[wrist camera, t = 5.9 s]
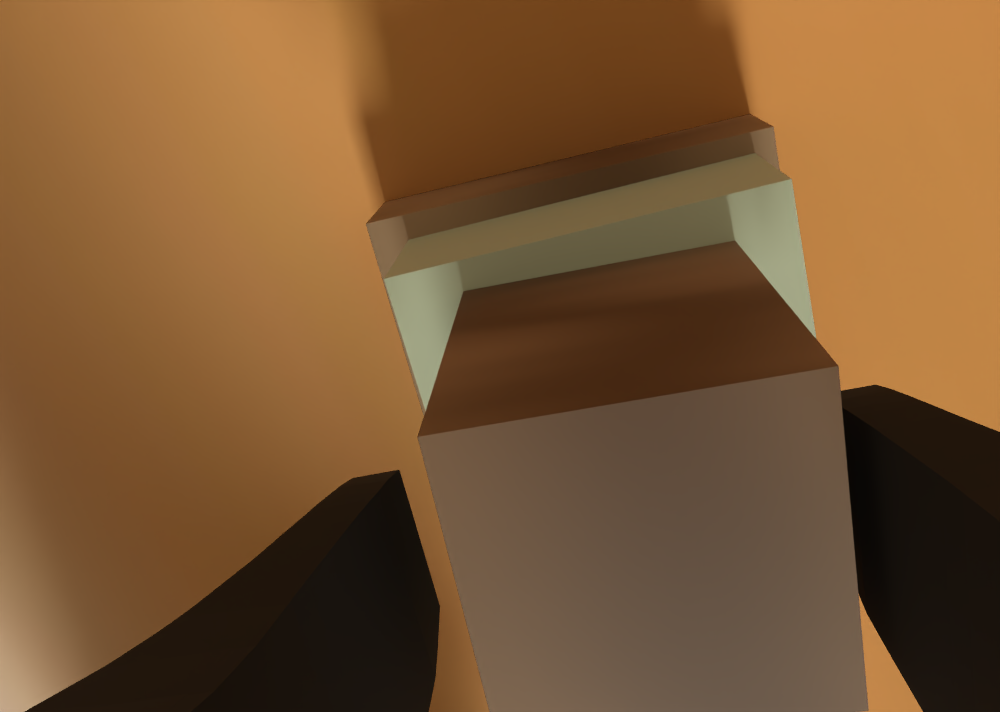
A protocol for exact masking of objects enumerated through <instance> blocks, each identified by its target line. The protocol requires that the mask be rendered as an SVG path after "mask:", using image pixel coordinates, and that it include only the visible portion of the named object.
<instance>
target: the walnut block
mask: <svg viewBox="0 0 1000 712" xmlns="http://www.w3.org/2000/svg"><path fill="white" fill-rule="evenodd" d="M418 441H419V444H420V448H421V452H422V456H423V460H424V463H425V467H426V471H427V475H428V479H429V482H430V486H431V490H432V494H433V498H434V502H435V505H436V509H437V513H438V517H439V521H440V524H441V528H442V532H443V536H444V540H445V543H446V547H447V551H448V555H449V559H450V563H451V566H452V570H453V574H454V578H455V582H456V585H457V589H458V593H459V597H460V601H461V605H462V608H463V612H464V616H465V620H466V624H467V627H468V631H469V635H470V639H471V643H472V646H473V650H474V654H475V658H476V662H477V666H478V669H479V673H480V677H481V681H482V685H483V688H484V692H485V696H486V700H487V704H488V707H489V711H490V712H860V711H868V699H867V687H866V676H865V664H864V653H863V642H862V630H861V619H860V607H859V596H858V584H857V573H856V562H855V550H854V539H853V527H852V516H851V505H850V493H849V482H848V470H847V459H846V447H845V436H844V425H843V413H842V402H841V390H840V379H839V367H838V365H837V364H836V363H835V361H834V360H833V359H832V358H831V356H830V355H829V354H828V353H827V352H826V350H825V349H824V348H823V347H822V345H821V344H820V343H819V342H818V341H817V339H816V338H815V337H814V336H813V335H812V333H811V332H810V331H809V330H808V328H807V327H806V326H805V325H804V324H803V322H802V321H801V320H800V319H799V318H798V316H797V315H796V314H795V313H794V311H793V310H792V309H791V308H790V307H789V305H788V304H787V303H786V302H785V300H784V299H783V298H782V297H781V296H780V294H779V293H778V292H777V291H776V290H775V288H774V287H773V286H772V285H771V283H770V282H769V281H768V280H767V279H766V277H765V276H764V275H763V274H762V272H761V271H760V270H759V269H758V268H757V266H756V265H755V264H754V263H753V262H752V260H751V259H750V258H749V257H748V255H747V254H746V253H745V252H744V251H743V249H742V248H741V247H740V246H739V244H738V243H737V242H736V241H730V242H724V243H719V244H714V245H708V246H703V247H698V248H692V249H687V250H681V251H676V252H671V253H665V254H660V255H654V256H649V257H644V258H638V259H633V260H628V261H622V262H617V263H612V264H606V265H601V266H596V267H590V268H585V269H580V270H574V271H569V272H564V273H558V274H553V275H547V276H542V277H537V278H531V279H526V280H521V281H515V282H510V283H505V284H499V285H494V286H489V287H483V288H478V289H473V290H467V291H463V294H462V297H461V300H460V303H459V307H458V310H457V313H456V316H455V319H454V323H453V326H452V329H451V332H450V335H449V338H448V342H447V345H446V348H445V351H444V354H443V358H442V361H441V364H440V367H439V370H438V373H437V377H436V380H435V383H434V386H433V389H432V393H431V396H430V399H429V402H428V405H427V408H426V412H425V415H424V418H423V421H422V424H421V428H420V431H419V434H418Z"/></svg>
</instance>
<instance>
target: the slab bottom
mask: <svg viewBox="0 0 1000 712" xmlns="http://www.w3.org/2000/svg"><path fill="white" fill-rule="evenodd" d="M753 153H756V154H757V155H758V156H760V157H761V158H763V159H764V160H766V161H767V162H768V163H770V164H771V165H773V166H774V167H775V168H777V169H778V170H780V169H779V162H778V155H777V148H776V141H775V134H774V127H773V126H771V125H769V124H768V123H766V122H764V121H762V120H760V119H758V118H756V117H755V116H753V115H751V114H748V115H744V116H740V117H736V118H732V119H727V120H723V121H719V122H715V123H711V124H707V125H703V126H698V127H694V128H690V129H686V130H682V131H678V132H674V133H669V134H665V135H661V136H657V137H653V138H649V139H645V140H640V141H636V142H632V143H628V144H624V145H620V146H615V147H611V148H607V149H603V150H599V151H595V152H591V153H586V154H582V155H578V156H574V157H570V158H566V159H562V160H557V161H553V162H549V163H545V164H541V165H537V166H532V167H528V168H524V169H520V170H516V171H512V172H508V173H503V174H499V175H495V176H491V177H487V178H483V179H479V180H474V181H470V182H466V183H462V184H458V185H454V186H450V187H445V188H441V189H437V190H433V191H429V192H425V193H420V194H416V195H412V196H408V197H404V198H400V199H396V200H391V201H387V202H385V203H384V204H383V205H382V206H381V207H380V208H379V210H378V211H377V212H376V213H375V214H374V215H373V216H372V218H371V219H370V220H369V221H368V222H367V223H366V226H367V229H368V233H369V236H370V239H371V243H372V246H373V249H374V253H375V256H376V259H377V262H378V266H379V269H380V272H381V276H382V279H383V282H384V278H385V276H386V274H387V273H388V271H389V270H390V268H391V267H392V265H393V263H394V262H395V260H396V259H397V257H398V256H399V254H400V253H401V251H402V249H403V248H404V246H405V245H406V243H407V242H408V240H410V239H414V238H418V237H422V236H426V235H430V234H434V233H438V232H442V231H446V230H450V229H454V228H458V227H462V226H466V225H470V224H474V223H478V222H482V221H486V220H490V219H494V218H498V217H502V216H506V215H510V214H514V213H518V212H522V211H526V210H530V209H533V208H537V207H541V206H545V205H549V204H553V203H557V202H561V201H565V200H569V199H573V198H577V197H581V196H585V195H589V194H593V193H597V192H601V191H605V190H609V189H613V188H617V187H621V186H625V185H629V184H633V183H637V182H641V181H645V180H649V179H653V178H657V177H661V176H665V175H669V174H673V173H677V172H681V171H685V170H689V169H693V168H697V167H701V166H705V165H709V164H713V163H717V162H721V161H725V160H729V159H733V158H737V157H741V156H745V155H749V154H753ZM384 286H385V289H386V292H387V296H388V299H389V302H390V305H391V309H392V312H393V315H394V319H395V322H396V325H397V329H398V332H399V335H400V339H401V342H402V345H403V348H404V352H405V355H406V358H407V362H408V365H409V368H410V372H411V375H412V378H413V382H414V385H415V388H416V391H417V395H418V398H419V401H420V405H421V408H422V411H423V415H425V412H426V411H425V408H424V405H423V402H422V398H421V395H420V392H419V389H418V386H417V383H416V379H415V376H414V373H413V370H412V367H411V364H410V361H409V357H408V354H407V351H406V348H405V345H404V342H403V338H402V335H401V332H400V329H399V326H398V323H397V320H396V316H395V313H394V310H393V307H392V304H391V301H390V297H389V294H388V291H387V288H386V285H385V282H384Z"/></svg>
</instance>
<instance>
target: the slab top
mask: <svg viewBox="0 0 1000 712" xmlns="http://www.w3.org/2000/svg"><path fill="white" fill-rule="evenodd" d="M730 241H736V242H737V243H738V244H739V246H740V247H741V248H742V249H743V251H744V252H745V253H746V254H747V255H748V257H749V258H750V259H751V260H752V262H753V263H754V264H755V265H756V266H757V268H758V269H759V270H760V271H761V272H762V274H763V275H764V276H765V277H766V279H767V280H768V281H769V282H770V283H771V285H772V286H773V287H774V288H775V290H776V291H777V292H778V293H779V294H780V296H781V297H782V298H783V299H784V300H785V302H786V303H787V304H788V305H789V307H790V308H791V309H792V310H793V311H794V313H795V314H796V315H797V316H798V318H799V319H800V320H801V321H802V322H803V324H804V325H805V326H806V327H807V328H808V330H809V331H810V332H811V333H812V335H813V336H814V337H815V338H816V333H815V327H814V321H813V314H812V308H811V301H810V295H809V288H808V282H807V275H806V269H805V262H804V256H803V249H802V243H801V237H800V230H799V224H798V217H797V211H796V204H795V198H794V191H793V185H792V179H791V178H790V177H788V176H787V175H785V174H784V173H782V172H781V171H780V170H778V169H777V168H775V167H774V166H773V165H771V164H770V163H768V162H767V161H766V160H764V159H763V158H761V157H760V156H758V155H757V154H756V153H753V154H749V155H745V156H741V157H737V158H733V159H729V160H725V161H721V162H717V163H713V164H709V165H705V166H701V167H697V168H693V169H689V170H685V171H681V172H677V173H673V174H669V175H665V176H661V177H657V178H653V179H649V180H645V181H641V182H637V183H633V184H629V185H625V186H621V187H617V188H613V189H609V190H605V191H601V192H597V193H593V194H589V195H585V196H581V197H577V198H573V199H569V200H565V201H561V202H557V203H553V204H549V205H545V206H541V207H537V208H533V209H530V210H526V211H522V212H518V213H514V214H510V215H506V216H502V217H498V218H494V219H490V220H486V221H482V222H478V223H474V224H470V225H466V226H462V227H458V228H454V229H450V230H446V231H442V232H438V233H434V234H430V235H426V236H422V237H418V238H414V239H410V240H408V242H407V243H406V245H405V246H404V248H403V249H402V251H401V253H400V254H399V256H398V257H397V259H396V260H395V262H394V263H393V265H392V267H391V268H390V270H389V271H388V273H387V274H386V276H385V278H384V282H385V285H386V288H387V291H388V294H389V297H390V301H391V304H392V307H393V310H394V313H395V316H396V320H397V323H398V326H399V329H400V332H401V335H402V338H403V342H404V345H405V348H406V351H407V354H408V357H409V361H410V364H411V367H412V370H413V373H414V376H415V379H416V383H417V386H418V389H419V392H420V395H421V398H422V402H423V405H424V408H425V411H426V408H427V405H428V402H429V399H430V396H431V393H432V389H433V386H434V383H435V380H436V377H437V373H438V370H439V367H440V364H441V361H442V358H443V354H444V351H445V348H446V345H447V342H448V338H449V335H450V332H451V329H452V326H453V323H454V319H455V316H456V313H457V310H458V307H459V303H460V300H461V297H462V294H463V291H467V290H473V289H478V288H483V287H489V286H494V285H499V284H505V283H510V282H515V281H521V280H526V279H531V278H537V277H542V276H547V275H553V274H558V273H564V272H569V271H574V270H580V269H585V268H590V267H596V266H601V265H606V264H612V263H617V262H622V261H628V260H633V259H638V258H644V257H649V256H654V255H660V254H665V253H671V252H676V251H681V250H687V249H692V248H698V247H703V246H708V245H714V244H719V243H724V242H730Z"/></svg>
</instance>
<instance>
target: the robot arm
mask: <svg viewBox="0 0 1000 712" xmlns="http://www.w3.org/2000/svg"><path fill="white" fill-rule="evenodd" d="M841 402H842V413H843V425H844V436H845V447H846V459H847V470H848V482H849V493H850V505H851V516H852V527H853V539H854V550H855V562H856V573H857V584H858V593H859V596H860V598H861V600H862V603H863V605H864V608H865V610H866V612H867V615H868V616H869V618H870V620H871V622H872V623H873V625H874V627H875V629H876V631H877V632H878V634H879V636H880V638H881V639H882V641H883V643H884V645H885V646H886V648H887V650H888V652H889V653H890V655H891V657H892V659H893V660H894V662H895V664H896V666H897V667H898V669H899V671H900V673H901V674H902V676H903V678H904V679H905V681H906V683H907V685H908V686H909V688H910V690H911V692H912V693H913V695H914V697H915V698H916V700H917V702H918V704H919V705H920V707H921V709H922V710H923V712H1000V432H998V431H996V430H993V429H990V428H988V427H985V426H983V425H980V424H978V423H975V422H973V421H970V420H968V419H965V418H963V417H960V416H958V415H955V414H953V413H950V412H948V411H945V410H943V409H940V408H938V407H935V406H933V405H931V404H928V403H926V402H923V401H921V400H918V399H916V398H913V397H911V396H908V395H905V394H903V393H900V392H898V391H895V390H892V389H889V388H886V387H882V386H879V385H871V386H866V387H860V388H854V389H849V390H843V391H841ZM439 613H440V605H439V602H438V598H437V595H436V592H435V588H434V585H433V582H432V578H431V575H430V572H429V568H428V565H427V561H426V558H425V555H424V551H423V548H422V545H421V541H420V538H419V535H418V531H417V528H416V524H415V521H414V518H413V514H412V511H411V508H410V504H409V501H408V498H407V494H406V491H405V487H404V484H403V481H402V477H401V474H400V471H399V470H396V471H390V472H385V473H379V474H373V475H368V476H362V477H357V478H352V479H351V480H349V481H347V482H346V483H344V484H343V485H341V486H340V487H339V488H337V489H336V490H335V491H333V492H332V493H331V494H330V495H328V496H327V497H326V498H325V499H323V500H322V501H321V502H320V503H319V504H317V505H316V506H315V507H314V508H313V509H312V510H310V511H309V512H308V513H307V514H306V515H305V516H303V517H302V518H301V519H300V520H299V521H298V522H296V523H295V524H294V525H293V526H292V527H291V528H289V529H288V530H287V531H286V532H285V533H284V534H282V535H281V536H280V537H279V538H278V539H277V540H275V541H274V542H273V543H272V544H271V545H270V546H268V547H267V548H266V549H265V550H264V551H263V552H261V553H260V554H259V555H258V556H257V557H256V558H254V559H253V560H252V561H251V562H249V563H248V564H247V565H246V566H244V567H243V568H242V569H241V570H239V571H238V572H237V573H236V574H234V575H233V576H232V577H230V578H229V579H228V580H227V581H225V582H224V583H223V584H222V585H220V586H219V587H218V588H217V589H215V590H214V591H213V592H211V593H210V594H209V595H208V596H206V597H205V598H204V599H203V600H201V601H200V602H199V603H198V604H196V605H195V606H194V607H192V608H191V609H190V610H188V611H187V612H185V613H184V614H183V615H181V616H180V617H179V618H177V619H176V620H174V621H173V622H172V623H170V624H169V625H167V626H166V627H164V628H163V629H162V630H160V631H159V632H157V633H156V634H154V635H153V636H151V637H150V638H148V639H147V640H145V641H143V642H142V643H140V644H139V645H137V646H136V647H134V648H133V649H131V650H130V651H128V652H127V653H125V654H124V655H122V656H121V657H119V658H117V659H116V660H114V661H113V662H111V663H109V664H108V665H106V666H105V667H103V668H101V669H99V670H98V671H96V672H94V673H92V674H91V675H89V676H87V677H85V678H84V679H82V680H80V681H78V682H76V683H75V684H73V685H71V686H69V687H68V688H66V689H64V690H62V691H60V692H59V693H57V694H55V695H53V696H52V697H50V698H48V699H46V700H45V701H43V702H41V703H39V704H37V705H36V706H34V707H32V708H30V709H29V710H27V711H25V712H429V707H430V702H431V697H432V692H433V687H434V682H435V676H436V663H437V650H438V633H439Z"/></svg>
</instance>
